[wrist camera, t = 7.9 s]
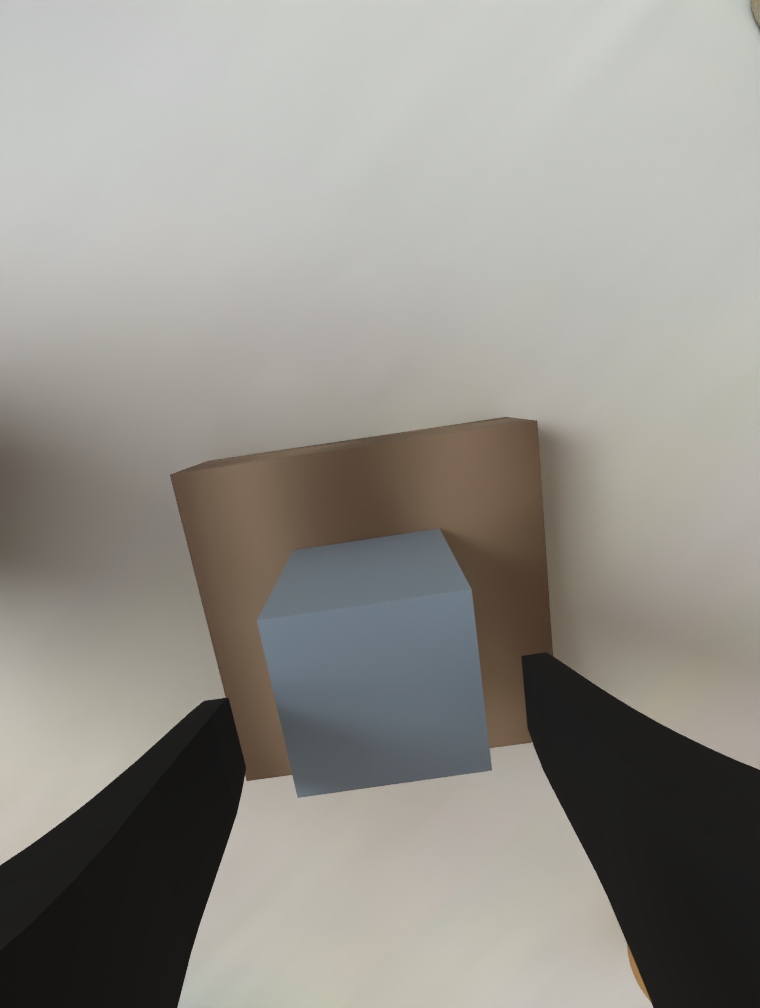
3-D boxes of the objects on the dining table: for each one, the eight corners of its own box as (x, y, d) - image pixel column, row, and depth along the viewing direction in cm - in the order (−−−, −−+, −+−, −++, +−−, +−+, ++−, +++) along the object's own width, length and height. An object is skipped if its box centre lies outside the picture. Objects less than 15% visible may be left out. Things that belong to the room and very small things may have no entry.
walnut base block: (269, 711, 21) (246, 780, 17) (212, 459, 19) (170, 474, 15) (523, 676, 21) (558, 738, 17) (502, 416, 18) (536, 420, 15)
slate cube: (319, 679, 16) (297, 797, 12) (293, 550, 15) (256, 620, 10) (456, 660, 16) (491, 770, 12) (439, 528, 15) (471, 589, 10)
